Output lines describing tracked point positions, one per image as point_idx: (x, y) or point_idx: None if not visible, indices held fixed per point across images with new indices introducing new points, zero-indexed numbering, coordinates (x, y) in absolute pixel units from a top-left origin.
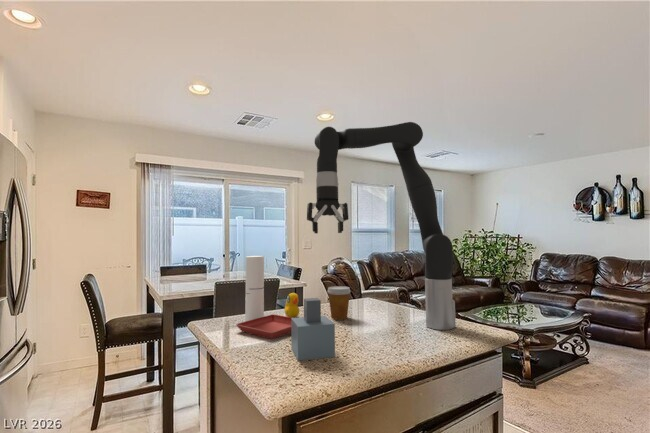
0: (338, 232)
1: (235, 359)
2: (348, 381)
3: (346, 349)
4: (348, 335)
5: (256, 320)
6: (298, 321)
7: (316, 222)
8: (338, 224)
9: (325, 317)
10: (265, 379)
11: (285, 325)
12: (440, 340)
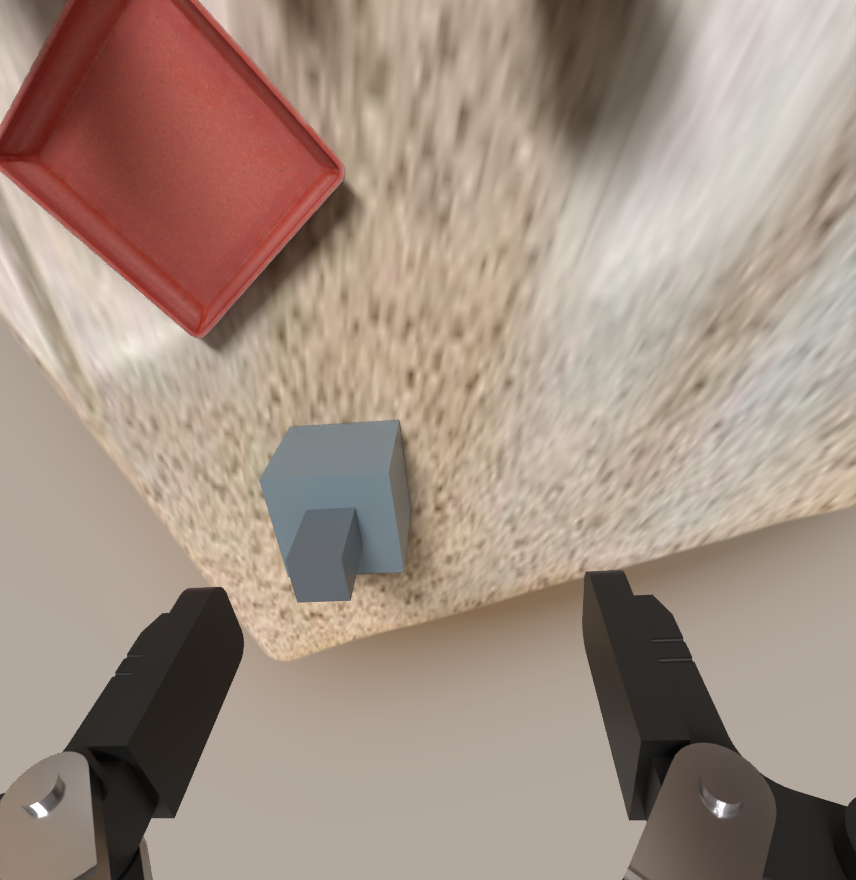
0: (586, 587)
1: (144, 476)
2: (411, 622)
3: (457, 463)
4: (510, 321)
5: (57, 51)
6: (288, 526)
7: (153, 816)
8: (623, 721)
9: (386, 496)
10: (248, 587)
11: (235, 103)
12: (798, 445)
